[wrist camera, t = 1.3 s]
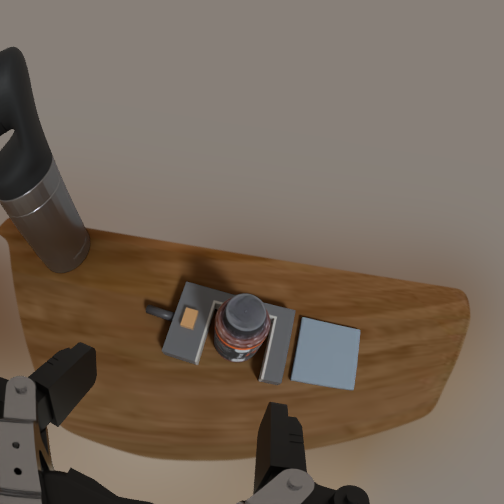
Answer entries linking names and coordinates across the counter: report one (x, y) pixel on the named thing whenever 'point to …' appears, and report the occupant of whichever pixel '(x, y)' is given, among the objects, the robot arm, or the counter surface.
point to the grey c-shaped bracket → (198, 322)
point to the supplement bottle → (240, 327)
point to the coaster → (326, 354)
